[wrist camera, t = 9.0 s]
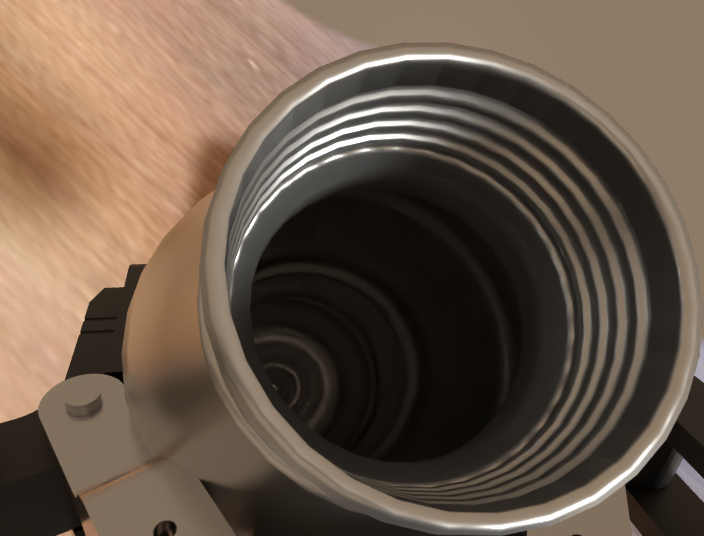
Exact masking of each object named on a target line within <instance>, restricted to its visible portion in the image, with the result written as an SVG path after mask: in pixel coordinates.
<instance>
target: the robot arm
mask: <svg viewBox="0 0 704 536" xmlns="http://www.w3.org/2000/svg"><path fill="white" fill-rule="evenodd" d="M146 265H147V264H132V265H130V266H129V269H128V273H127V278H126V282H125V286H124V287H119V288H104V289H103V290H102V291H101V292H100V293H99V294H98V295H97V296H96V297H95V298H94V299H93V300H91V301H90V303H89V306H88V309H87V312H86V315H85V321H84V322H83V325H82V328H81V331H80V332H81V334H80V335H79V337H78V340H77V344H76V347H75V350H74V353H73V356H72V359H71V363H70V366H69V369H68V372H67V375H66V378H65V381H63V382H61V383H59V384H57V385H56V386H54V387H53V388H52V389H50V390H49V391H48V392H47V393H46V394H45V396H44V397H43V398H42V400H41V402H40V404H39V407H38V410H36V411H35V412H33V413H30V414H28V415H26V416H23V417H20V418H17V419H14V420H11V421H7V422H4V423H0V536H57V535H59V534H62V533H64V532H67V531H69V530H70V532H71V535H72V536H236V535H235V533H234V532H233V530H232V529H231V527H230V526H229V524H228V522H227V521H226V519H225V518H224V516H223V515H222V513H221V512H220V510H219V509H218V507H217V506H216V504H215V503H214V501H213V500H212V498H211V497H210V495H209V494H208V492H207V491H206V489H205V488H204V486H203V485H202V483H201V482H200V480H199V479H198V478H197V477H195V476H194V475H192V474H190V473H189V472H187V471H186V470H184V469H183V468H181V467H180V466H179V465H177V464H176V463H175V462H174V461H172V460H171V459H169V458H167V457H162V456H161V457H158V458H155V459H154V458H153V457H152V455H151V454H150V453H149V451H148V450H147V449H146V447H145V446H144V445H143V443H142V442H141V441H140V439H139V437H138V435H137V433H136V431H135V429H134V426H133V423H132V419H131V416H130V413H129V409H128V406H127V403H126V399H125V393H124V380H123V366H122V347H123V340H124V332H125V325H126V318H127V311H128V309H129V306H130V303H131V300H132V298H133V295H134V292H135V289H136V287H137V284H138V281H139V278H140V276H141V273H142V271H143V269H144V268H145V266H146ZM683 458H684V459H685V460H686V461H687V462H688V463H689V464H690V465H691V466H692V467H693V468H694V469H695V470H696V471H697V472H698V473H699V474H700V475H701V476H702V477H703V478H704V383H703V382H702V381H701V380H699V379H698V378H697V377H695V376H694V377H693V381H692V384H691V388H690V391H689V395H688V399H687V401H686V403H685V404H684V406H683V408H682V410H681V412H680V414H679V416H678V418H677V420H676V422H675V424H674V426H673V428H672V430H671V431H670V433H669V435H668V437H667V439H666V440H665V442H664V443H663V444H662V445H661V446H660V448H659V449H658V450H657V451H656V452H655V454H654V455H653V456H652V457H651V458H650V460H649V461H648V462H647V463H646V464H645V466H644V467H643V468H642V469H641V470H640V472H639V473H638V474H637V475H636V476H635V477H633V478H632V479H631V480H630V481H628V482H627V483H626V484H624V485H623V486H622V487H620V488H619V489H618V490H616V491H615V492H614V493H613V494H611V495H610V496H609V497H607V498H606V499H605V500H603V501H602V502H601V503H599V504H598V505H596V506H594V507H591V508H589V509H587V510H585V511H583V512H580V513H578V514H576V515H574V516H572V517H569V518H567V519H565V520H563V521H561V522H558V523H556V524H554V525H551V526H546V527H541V528H536V529H531V530H526V531H522V532H517V533H512V534H507V535H502V536H632V532H631V525H630V520H631V522H632V523H633V524H634V525H635V527H636V528H637V529H638V530H639V532H640V533H641V534H642V536H704V502H703V501H702V500H701V499H700V498H699V497H698V496H697V495H696V494H695V493H694V492H693V491H692V490H691V489H690V488H689V486H688V485H687V484H686V483H685V482H684V481H683V480H682V479H681V478H680V477H679V476H678V475H677V474H676V473H675V472H676V470H677V469H678V467H679V465H680V463H681V461H682V459H683ZM253 536H254V535H253ZM433 536H499V535H433Z"/></svg>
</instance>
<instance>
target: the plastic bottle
mask: <svg viewBox="0 0 704 536" xmlns="http://www.w3.org/2000/svg"><path fill="white" fill-rule="evenodd" d="M702 316H703V307H702V297H701V289H700V279H699V270H698V264H697V260H696V257H695V254H694V250H693V247H692V243H691V240H690V237H689V233H688V230H687V226H686V223H685V221H684V219H683V217H682V215H681V213H680V210H679V208H678V206H677V204H676V202H675V200H674V198H673V196H672V194H671V192H670V190H669V188H668V186H667V184H666V182H665V180H664V179H663V177H662V176H661V175H660V173H659V172H658V170H657V169H656V167H655V166H654V165H653V163H652V162H651V160H650V159H649V157H648V156H647V155H646V153H645V152H644V150H643V149H642V147H641V146H640V145H639V144H638V143H637V142H636V141H635V140H634V139H633V138H632V137H631V135H630V134H629V133H628V132H627V131H625V129H624V128H623V127H622V126H621V125H620V124H619V123H618V122H617V121H616V120H615V119H614V118H613V117H612V116H611V115H610V114H609V113H608V112H607V111H605V110H604V109H603V108H602V107H600V106H599V105H597V104H596V103H595V102H594V101H592V100H591V99H590V98H588V97H587V96H586V95H584V94H583V93H582V92H580V91H579V90H578V89H577V88H575V87H574V86H572V85H571V84H569V83H567V82H565V81H563V80H561V79H559V78H557V77H555V76H554V75H552V74H550V73H548V72H546V71H544V70H543V69H541V68H539V67H537V66H535V65H533V64H530V63H527V62H524V61H522V60H519V59H516V58H513V57H510V56H507V55H504V54H501V53H498V52H496V51H493V50H488V49H482V48H476V47H470V46H464V45H459V44H452V43H400V44H395V45H389V46H384V47H379V48H374V49H368V50H363V51H359V52H356V53H354V54H351V55H349V56H346V57H344V58H341V59H339V60H336V61H334V62H331V63H329V64H326V65H324V66H321V67H319V68H317V69H316V70H314V71H313V72H311V73H310V74H308V75H307V76H305V77H304V78H302V79H301V80H299V81H298V82H296V83H295V84H293V85H291V86H290V87H288V88H287V89H285V90H284V91H282V92H281V93H280V94H279V95H278V96H277V97H276V98H275V99H274V100H273V101H272V102H271V103H270V104H269V105H268V106H267V107H266V108H265V109H264V110H263V111H262V112H261V113H260V114H259V115H258V117H257V118H256V119H255V120H254V121H253V122H252V123H251V124H250V125H249V126H248V127H247V129H246V131H245V132H244V134H243V136H242V137H241V139H240V140H239V142H238V144H237V145H236V147H235V149H234V150H233V152H232V153H231V155H230V157H229V158H228V160H227V162H226V163H225V165H224V167H223V170H222V173H221V174H220V176H219V179H218V182H217V185H216V188H215V190H214V191H212V192H211V193H209V194H208V195H207V196H205V197H204V198H202V199H201V200H200V201H199V202H198V203H196V204H195V205H194V206H193V207H192V208H191V209H190V210H189V211H188V212H187V213H186V214H185V216H184V217H183V218H182V219H181V220H180V221H179V222H178V223H177V224H176V225H175V226H174V227H173V228H172V229H171V230H170V231H169V232H168V233H167V234H166V235H165V237H164V238H163V239H162V241H161V242H160V244H159V245H158V247H157V249H156V250H155V252H154V253H153V255H152V257H151V258H150V260H149V261H148V263H147V265H146V266H145V268H144V269H143V271H142V273H141V276H140V278H139V281H138V284H137V287H136V289H135V292H134V295H133V298H132V300H131V303H130V306H129V309H128V311H127V318H126V325H125V332H124V340H123V347H122V366H123V380H124V393H125V399H126V403H127V406H128V409H129V413H130V416H131V419H132V423H133V426H134V429H135V431H136V433H137V435H138V437H139V439H140V441H141V442H142V443H143V445H144V446H145V447H146V449H147V450H148V451H149V453H150V454H151V455H152V457H153V458H154V459H155V458H158V457H161V456H162V457H167V458H169V459H171V460H172V461H174V462H175V463H176V464H177V465H179V466H180V467H181V468H183V469H184V470H186V471H187V472H189V473H190V474H192V475H194V476H195V477H197V478H198V479H199V480H200V482H201V483H202V485H203V486H204V488H205V489H206V491H207V492H208V494H209V495H210V497H211V498H212V500H213V501H214V503H215V504H216V506H217V507H218V509H219V510H220V512H221V513H222V515H223V516H224V518H225V519H226V521H227V522H228V524H229V526H230V527H231V529H232V530H233V532H234V533H235V535H236V536H253V535H254V536H433V535H499V536H502V535H507V534H512V533H517V532H522V531H526V530H531V529H536V528H541V527H546V526H551V525H554V524H556V523H558V522H561V521H563V520H565V519H567V518H569V517H572V516H574V515H576V514H578V513H580V512H583V511H585V510H587V509H589V508H591V507H594V506H596V505H598V504H599V503H601V502H602V501H603V500H605V499H606V498H607V497H609V496H610V495H611V494H613V493H614V492H615V491H616V490H618V489H619V488H620V487H622V486H623V485H624V484H626V483H627V482H628V481H630V480H631V479H632V478H633V477H635V476H636V475H637V474H638V473H639V472H640V470H641V469H642V468H643V467H644V466H645V464H646V463H647V462H648V461H649V460H650V458H651V457H652V456H653V455H654V454H655V452H656V451H657V450H658V449H659V448H660V446H661V445H662V444H663V443H664V442H665V440H666V439H667V437H668V435H669V433H670V431H671V430H672V428H673V426H674V424H675V422H676V420H677V418H678V416H679V414H680V412H681V410H682V408H683V406H684V404H685V403H686V401H687V399H688V395H689V391H690V388H691V384H692V381H693V377H694V373H695V370H696V366H697V363H698V359H699V355H700V343H701V329H702Z"/></svg>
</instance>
